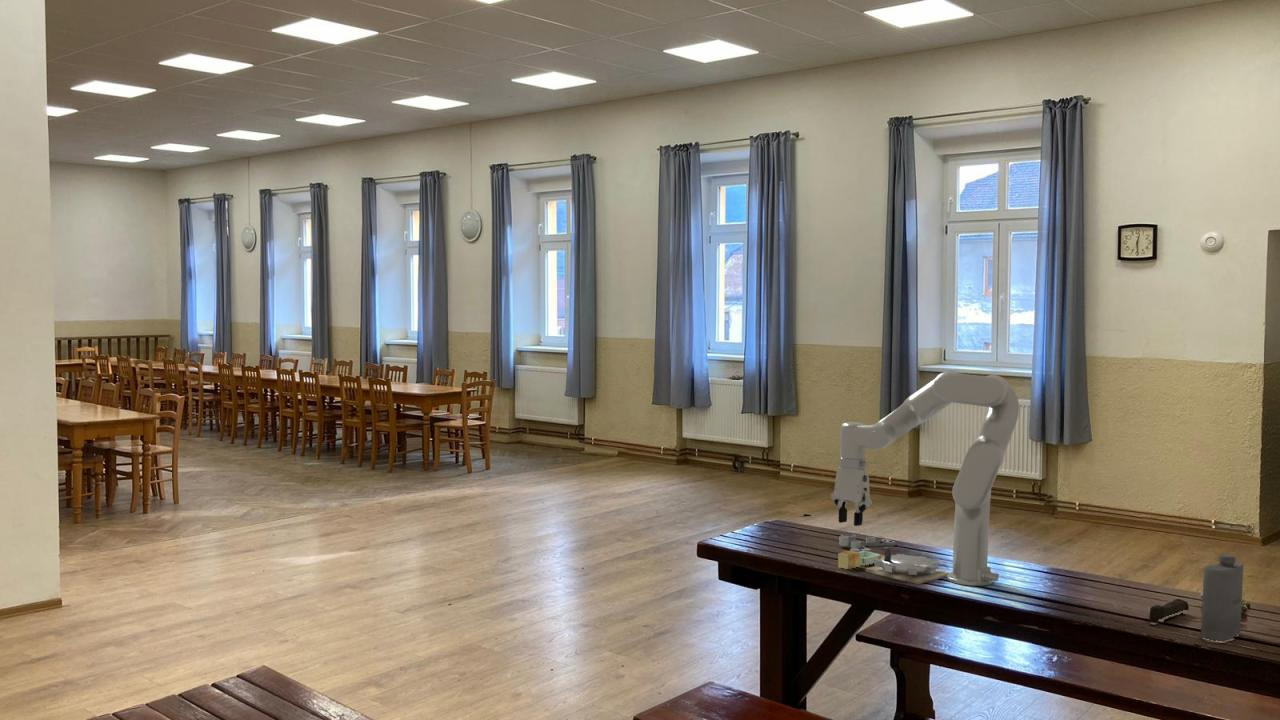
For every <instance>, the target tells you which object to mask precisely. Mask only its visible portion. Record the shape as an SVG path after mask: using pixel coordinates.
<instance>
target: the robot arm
mask: <svg viewBox="0 0 1280 720" xmlns="http://www.w3.org/2000/svg"><path fill="white" fill-rule="evenodd" d="M952 403H955V404H961V405H970V406H979V407H987V412H986V415H985V418H984V420H983V422H982V425H981V427H980V430H979V432H978V435H977V437H976V438H975V441H974V442H973V443H972V444H971V445H970V447H969V448H968V450H967V452H966V454H965V456H964V460H963V462H962V465H961V467H960V469H959V471H958V474H957V477H956V478H955V481H954V484H953V486H952V490H951V492H952V493H951V494H952V498H953V500H954V503H955V504H954V505H955V506H954V507H955V508H954V525H953V549H952V550H953V553H952V572H949V574H947V577H946V579H947V581H949V582H951V583H954V584H958V585H963V586H970V587H971V586H972V587H973V586H974V587H981V586H982V587H985V586H990V585H991V584H993V582H998V581H999V577H1000V574H999V573H996V572H992V571H991V568H992V567H990V566H988V558H989V557H988V555H989V554H988V553H989V534H990V533H989V532H990V531H989V529H990V510H991V509H990V507H991V498H992V488H993V485H994V482H995V480H996V477H998V476H997V475H998V473H999V470H1000V468H1001V466H1002V464H1003V462H1004V458H1005V454H1006V451H1007V448H1008V445H1009V444H1010V441H1011V440H1012V439H1011V438H1012V435H1013V432H1014V430H1015V428H1016V425H1017V422H1018V419H1019V416H1020V415H1019V412H1020V402H1019V398H1018V395H1017V393H1016V391H1015V388H1013V386H1012V385H1011V384H1010V382H1008V381H1007V380H1006V379H1005V378H1004V377H1002V376H1000V375H997V374H990V375H987V376H986V375H975V374H965V373H960V372H958V371H956V370H949V369H948V370H946V371H943V372H940V373H939V374H937V376H936V377H935V378H933V379H932V380H930V381H929V382H928V383H927V384H925V385H923V386H922V387H921V388H920V389H918V390H916V391H915V392H913V393H912V394H911V395H910V396H908V397H907V398H906V399H905V400H904V401H903V402H902V404H900V406H898V407H897V408H896V409H894V410H893V411H891V413H888V415H886V416H885V417H883V418H882V419H880V420H878V422H875V423H873V424H864V423H862V422H856V421H854V422H853V421H848V422H843V423H842V424H841V425H840V438H839V442H840V443H839V466H838V467H837V470H836V475H835V483H834V490H833V492H831V494H830V496H829V497H830V498H831V500H833V502H834V504H835V505H836V508H837V510H838V523H846V522H847V521H848V509H847V508H846V507H847V503H848V502H849V503H850V502H851V503H853V504H854V506H855V507H854V508H855V512H854V513H853V514H854V515H853V525H854V527H855V526H856V527H857V526H858V527H859V526H862V525H863V519H864V518H863V515H864V512H865V511H866V510H867V508H869V507H870V506H872V504H873V501H872V499H871V497H870V494H871V493H870V491H871V490H870V477H869V472H868V469H867V468H866V467H868V464H869V463H868V461H866V449H870V450H874V451H875V450H877V451H879V450H883V449H885V448H886V447H888V446H890V445H891V444H893V443H894V442H895V441H897V440H898V439H900V438H901V437H903V436H904V435H906V434H907V433H908V432H910V431H911V430H912V429H914V428H916V427H917V426H919V425H922V424H923V423H925V422H926V421H928V420H929V419H931V418H932V417H933V416H935V415H937V413H939V412H940V411H941V412H942V410H943V409H945V408H946V407H948V406H949V405H951V404H952Z"/></svg>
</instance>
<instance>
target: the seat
mask: <svg viewBox="0 0 1280 720" xmlns="http://www.w3.org/2000/svg"><path fill="white" fill-rule="evenodd" d="M860 551H861V550H860ZM859 553H860V566H862V565H863V566H862V567H865V565H866V566H869V564H870V565H874V564H875V559H878V556H880V555H882V554H880V553H876V552H872V551H871V552H867V551H861V552H859ZM873 563H874V564H873Z"/></svg>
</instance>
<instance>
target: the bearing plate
mask: <svg viewBox="0 0 1280 720" xmlns="http://www.w3.org/2000/svg"><path fill="white" fill-rule="evenodd" d="M865 572H866V573H868V574H869V573H870V574H873V575H878V576H880V577H881V576H882V577H886V578H891V579H894V580H898V581H902V582H903V581H904V582H906V581H907V583H910V582H911V583H910V584H915V585H920V584H923V583H927V582H932V581H935V580H939V579H944V578H947V574H949V573H950V571H949V572H948V571H943V570H941V569H940V570H939V569H936V573H932V574H930V573H921V574H917V575H909V574H908V573H899V572H888V571H885V569H884V568H882V567H876V566H875V565H874V566H870V567H866V568H865Z"/></svg>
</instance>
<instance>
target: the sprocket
mask: <svg viewBox="0 0 1280 720" xmlns="http://www.w3.org/2000/svg"><path fill="white" fill-rule="evenodd" d="M939 564H940V563H939V561H938V560H931V559H929V558H928V557H927V556H922V555H919V556H916V555H909V554H904V553H896V554H892V546H884V552H883V554H881V555H880V556H878V559H875V563H874V566H876V567H882V568H884V569H885V571H888V572H899V573H908V574H909V575H917V574H921V573H930V574H932V573H936V570H939V568H940V567H939Z"/></svg>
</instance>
